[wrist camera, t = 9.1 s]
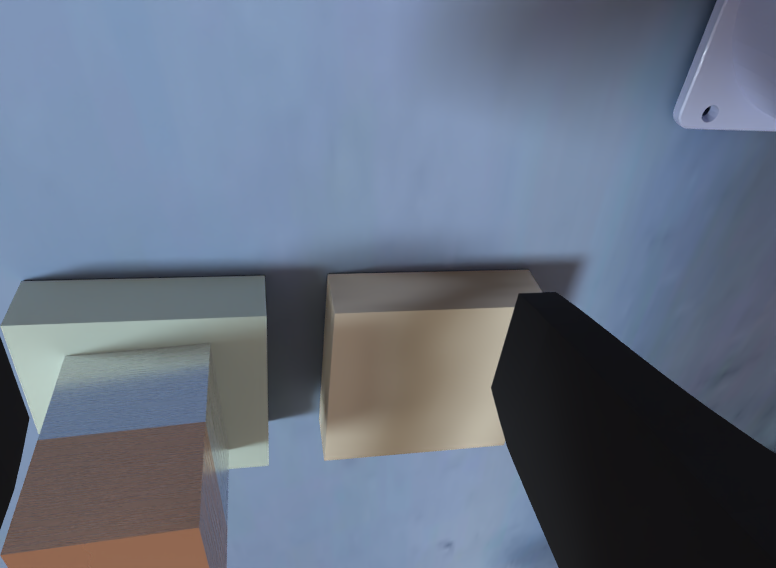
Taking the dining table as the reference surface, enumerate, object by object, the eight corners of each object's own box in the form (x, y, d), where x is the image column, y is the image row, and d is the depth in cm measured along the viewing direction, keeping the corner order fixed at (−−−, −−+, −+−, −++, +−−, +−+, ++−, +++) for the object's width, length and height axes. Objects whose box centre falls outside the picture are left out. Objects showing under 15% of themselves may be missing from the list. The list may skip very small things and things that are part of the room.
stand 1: (264, 275, 20) (266, 316, 18) (267, 422, 24) (268, 465, 22) (21, 281, 18) (0, 326, 16) (69, 436, 22) (56, 483, 21)
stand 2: (528, 269, 21) (551, 306, 20) (487, 406, 26) (503, 445, 24) (327, 274, 20) (334, 313, 18) (319, 418, 24) (324, 460, 23)
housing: (228, 449, 21) (225, 631, 17) (105, 464, 21) (65, 657, 16) (210, 342, 18) (198, 527, 14) (64, 355, 17) (0, 555, 13)
